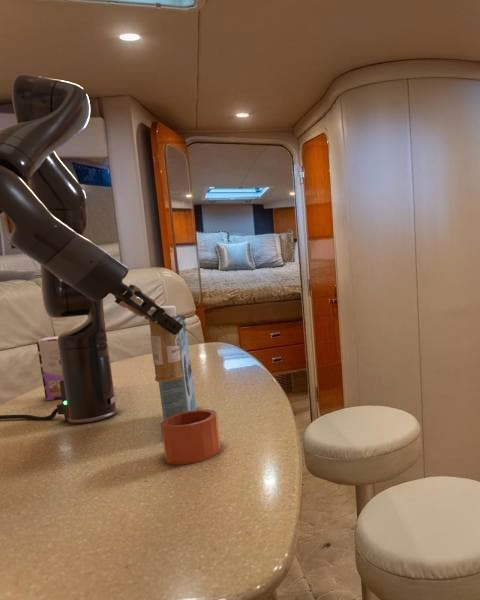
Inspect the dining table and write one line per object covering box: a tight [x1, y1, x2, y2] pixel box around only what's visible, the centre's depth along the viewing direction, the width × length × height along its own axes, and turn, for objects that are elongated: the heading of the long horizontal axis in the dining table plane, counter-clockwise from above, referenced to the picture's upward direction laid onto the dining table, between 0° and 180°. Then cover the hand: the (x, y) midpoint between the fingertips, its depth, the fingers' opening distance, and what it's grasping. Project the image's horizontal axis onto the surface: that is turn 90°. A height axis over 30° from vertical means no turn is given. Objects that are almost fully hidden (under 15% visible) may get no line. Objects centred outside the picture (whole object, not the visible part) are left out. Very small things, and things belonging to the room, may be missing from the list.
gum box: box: [158, 314, 197, 420], centre depth 111 cm, size 20×5×23 cm, turn 23°
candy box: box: [35, 335, 63, 401], centre depth 138 cm, size 14×6×16 cm, turn 108°
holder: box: [160, 408, 221, 465], centre depth 95 cm, size 9×9×7 cm
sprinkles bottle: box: [147, 305, 183, 383], centre depth 92 cm, size 5×5×13 cm
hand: (175, 328), depth 93 cm, fingers closed on sprinkles bottle, 4 cm apart
